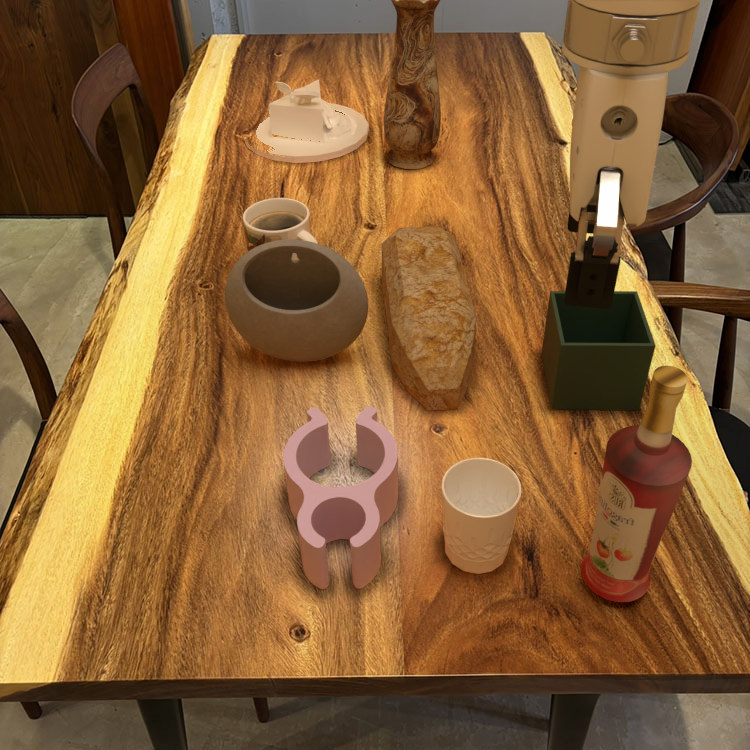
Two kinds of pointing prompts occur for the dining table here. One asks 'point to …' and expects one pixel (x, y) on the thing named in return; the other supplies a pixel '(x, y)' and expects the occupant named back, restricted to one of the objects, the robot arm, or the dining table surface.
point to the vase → (413, 87)
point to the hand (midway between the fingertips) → (587, 266)
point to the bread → (428, 315)
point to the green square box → (596, 354)
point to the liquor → (638, 494)
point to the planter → (296, 300)
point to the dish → (309, 127)
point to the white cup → (479, 513)
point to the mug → (277, 222)
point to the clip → (341, 496)
